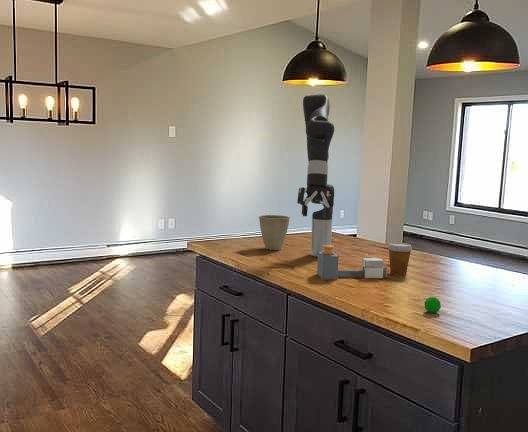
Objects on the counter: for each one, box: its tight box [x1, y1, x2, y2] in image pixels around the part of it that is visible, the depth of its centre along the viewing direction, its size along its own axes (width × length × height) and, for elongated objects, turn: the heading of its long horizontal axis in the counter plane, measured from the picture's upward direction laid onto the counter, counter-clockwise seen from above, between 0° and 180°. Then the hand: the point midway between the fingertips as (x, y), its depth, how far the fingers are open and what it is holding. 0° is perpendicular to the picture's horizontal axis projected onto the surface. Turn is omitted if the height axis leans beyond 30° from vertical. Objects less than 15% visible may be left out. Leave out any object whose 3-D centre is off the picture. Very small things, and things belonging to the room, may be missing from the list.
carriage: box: [361, 257, 385, 279], centre depth 222 cm, size 5×7×7 cm
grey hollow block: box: [316, 251, 339, 280], centre depth 219 cm, size 9×6×9 cm, turn 7°
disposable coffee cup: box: [387, 242, 413, 276], centre depth 229 cm, size 10×10×12 cm
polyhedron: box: [423, 296, 442, 314], centre depth 175 cm, size 5×5×5 cm
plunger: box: [323, 244, 335, 255], centre depth 219 cm, size 4×4×5 cm
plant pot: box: [258, 214, 291, 251], centre depth 275 cm, size 15×15×16 cm
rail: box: [338, 265, 387, 279], centre depth 221 cm, size 3×20×4 cm, turn 97°
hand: (314, 217), depth 210 cm, fingers open, 8 cm apart
